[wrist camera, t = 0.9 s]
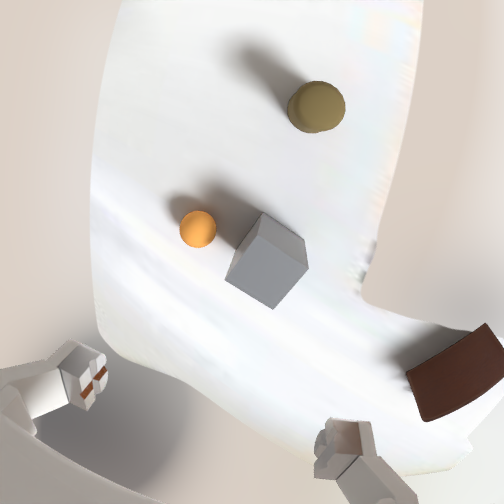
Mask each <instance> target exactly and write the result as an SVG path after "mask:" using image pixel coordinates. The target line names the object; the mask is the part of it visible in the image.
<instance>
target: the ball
mask: <svg viewBox="0 0 504 504" xmlns="http://www.w3.org/2000/svg"><path fill="white" fill-rule="evenodd" d="M180 235H181V238H182V239H183V241H184V242H185V243H186V244H187V245H189V246H191V247H194V248H201V247H205V246H207V245H208V244H210V243H211V242H212V241H213V239H214V237H215V235H216V223H215V221H214V219H213V218H212V217H211V216H210V215H209V214H208V213H206V212H203V211H193V212H190V213H188V214H187V215H186V216H185V217H184V218H183V219H182V221H181V223H180Z"/></svg>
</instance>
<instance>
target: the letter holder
mask: <svg viewBox="0 0 504 504" xmlns="http://www.w3.org/2000/svg"><path fill="white" fill-rule="evenodd" d="M406 375H407V378H408V381H409V383H410V386H411V389H412V392H413V395H414V397H415V400H416V403H417V406H418V409H419V413H420V416H421V418H422V420H423V421H424V422H430V421H433V420H435V419H438V418H441V417H443V416H445V415H448V414H450V413H452V412H454V411H456V410H458V409H460V408H462V407H463V406H465V405H467V404H469V403H470V402H472V401H474V400H475V399H477V398H478V397H480V396H481V395H483V394H484V393H486V392H487V391H488V390H489V389H491V388H492V387H493V386H494V385H496V384H497V383H498V382H499V381H500V380H501V379H502V378H504V348H503V346H502V345H501V343H500V342H499V340H498V339H497V338H496V336H495V335H494V333H493V332H492V331H491V329H490V328H489V326H488V325H487V324H486V323H484V324H483V325H481V326H480V327H479V328H477V329H476V330H475V331H473V332H472V333H470V334H469V335H468V336H466V337H465V338H463V339H462V340H460V341H459V342H457V343H455V344H454V345H452V346H451V347H449V348H447V349H446V350H444V351H442V352H441V353H439V354H438V355H436V356H434V357H433V358H431V359H429V360H427V361H426V362H424V363H422V364H420V365H419V366H417V367H415V368H413V369H411V370H410V371H408V372H406Z"/></svg>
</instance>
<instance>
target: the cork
mask: <svg viewBox="0 0 504 504" xmlns="http://www.w3.org/2000/svg"><path fill="white" fill-rule="evenodd" d="M287 109H288V116H289V119H290V121H291V123H292V124H293V125H294V126H295V127H296V128H297V129H299V130H300V131H303V132H306V133H318V132H321V131H327V130H330V129H333V128H334V127H336V126H337V125H338V124H339V123H340V122H341V120H342V119H343V117H344V114H345V101H344V99H343V96H342V94H341V93H340V92H339V90H338V89H337V88H335V87H334V86H333V85H331V84H329V83H326V82H323V81H312V82H309V83H306V84H304V85H303V86H301V87H300V88H299V89H298V91H297V92H296V93H295V94H294V95H293V96H292V98H291V99H290V100H289V104H288V107H287Z"/></svg>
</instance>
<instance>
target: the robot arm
mask: <svg viewBox="0 0 504 504" xmlns="http://www.w3.org/2000/svg"><path fill="white" fill-rule="evenodd" d="M106 362H107V361H106V355H104V354H103V353H101V352H99V351H96V350H94V349H92V348H90V347H88V346H86V345H84V344H82V343H80V342H78V341H76V340H74V339H69V340H68V341H66V342H65V343H64V344H63V345H62V346H61V347H60V348H59V349H58V350H57V351H56V352H55V353H54V354H53V355H52V356H51V357H50V358H48V360H46V361H45V360H39V361H35V362H31V363H27V364H22V365H18V366H13V367H9V368H4V369H0V504H167V503H164V502H161V501H158V500H155V499H153V498H150V497H147V496H145V495H142V494H140V493H137V492H135V491H132V490H130V489H128V488H125V487H123V486H121V485H118V484H116V483H114V482H112V481H110V480H108V479H105V478H103V477H101V476H99V475H97V474H95V473H93V472H92V471H90V470H88V469H86V468H84V467H82V466H80V465H79V464H77V463H75V462H73V461H72V460H70V459H68V458H66V457H65V456H63V455H61V454H60V453H58V452H57V451H55V450H53V449H52V448H50V447H49V446H47V445H46V444H44V443H42V442H41V441H40V440H38V439H37V438H35V437H34V435H35V434H36V433H37V430H36V427H35V425H34V423H33V421H32V419H33V418H36V417H38V416H40V415H43V414H45V413H47V412H50V411H52V410H54V409H57V408H59V407H61V406H64V405H66V404H68V403H69V402H70V403H72V404H74V405H76V406H77V407H79V408H82V409H84V410H85V411H88V409H89V408H90V407H91V405H92V404H93V403H94V401H95V394H98V393H101V392H102V391H103V389H104V388H105V385H106V383H107V380H108V370H107V369H106V367H105V366H104V364H105V363H106ZM314 454H315V455H316V457H317V458H318V459H317V460H316V462H315V463H314V478H319V479H329V480H336V482H337V484H338V486H339V487H340V489H341V490H342V492H343V494H344V495H345V497H346V498H347V500H348V501H349V503H350V504H418V499H417V495H416V494H415V492H414V491H413V490H412V489H411V488H410V487H409V486H408V485H407V484H406V483H405V482H404V481H403V480H402V479H401V478H400V477H399V476H398V475H397V474H396V472H395V471H394V470H393V469H392V468H391V467H390V466H389V465H388V464H387V463H386V462H385V461H384V460H383V459H382V457H381V456H377V453H376V448H375V442H374V437H373V432H372V427H371V423H370V422H368V421H356V420H348V419H339V418H331V417H330V418H329V419H328V420H327V421H326V423H325V429H323V430H321V431H320V432H319V434H318V436H317V438H316V441H315V446H314Z"/></svg>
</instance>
